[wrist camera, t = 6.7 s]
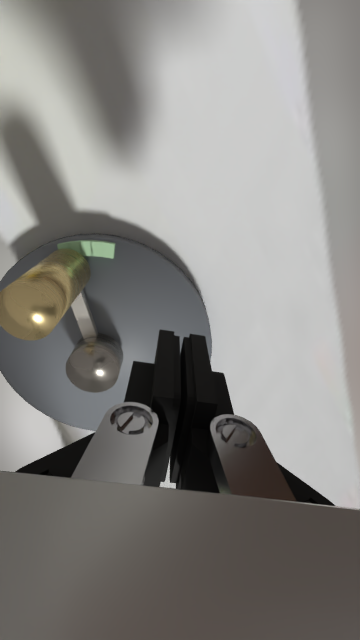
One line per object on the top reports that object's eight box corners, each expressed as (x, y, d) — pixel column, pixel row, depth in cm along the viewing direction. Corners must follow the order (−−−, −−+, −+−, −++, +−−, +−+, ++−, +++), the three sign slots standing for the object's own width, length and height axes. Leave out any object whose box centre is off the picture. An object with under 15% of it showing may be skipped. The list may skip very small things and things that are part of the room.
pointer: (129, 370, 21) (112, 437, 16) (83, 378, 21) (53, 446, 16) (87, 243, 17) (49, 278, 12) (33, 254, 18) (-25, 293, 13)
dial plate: (160, 442, 26) (159, 457, 25) (-20, 382, 24) (-33, 396, 22) (249, 291, 20) (253, 300, 19) (24, 191, 18) (11, 194, 17)
